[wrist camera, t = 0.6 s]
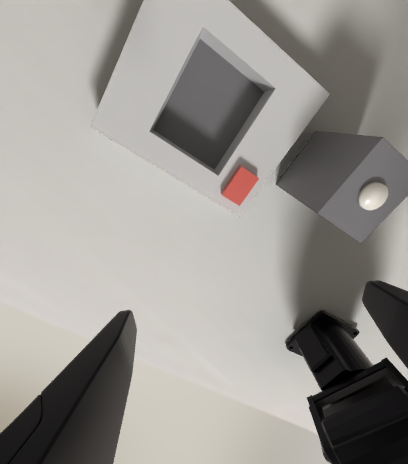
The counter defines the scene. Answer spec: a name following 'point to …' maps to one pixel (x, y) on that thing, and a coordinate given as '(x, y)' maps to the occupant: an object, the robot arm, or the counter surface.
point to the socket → (207, 98)
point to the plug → (348, 180)
